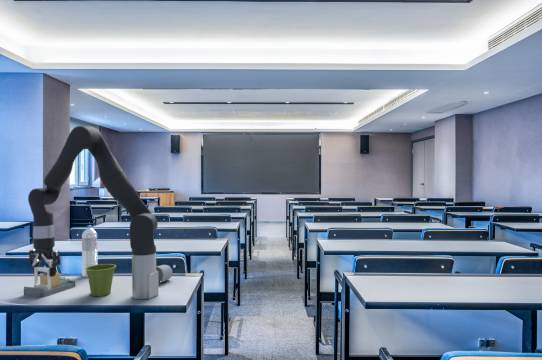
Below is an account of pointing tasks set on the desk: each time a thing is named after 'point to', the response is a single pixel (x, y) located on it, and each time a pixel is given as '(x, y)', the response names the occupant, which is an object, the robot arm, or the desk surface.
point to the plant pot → (100, 278)
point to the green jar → (64, 281)
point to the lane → (41, 293)
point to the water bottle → (89, 249)
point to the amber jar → (54, 280)
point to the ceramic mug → (163, 273)
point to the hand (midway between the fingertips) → (44, 275)
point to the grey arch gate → (48, 286)
